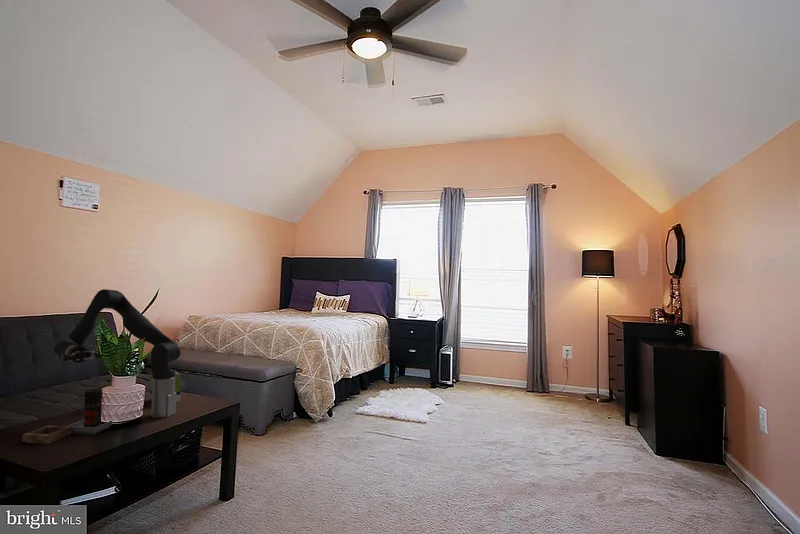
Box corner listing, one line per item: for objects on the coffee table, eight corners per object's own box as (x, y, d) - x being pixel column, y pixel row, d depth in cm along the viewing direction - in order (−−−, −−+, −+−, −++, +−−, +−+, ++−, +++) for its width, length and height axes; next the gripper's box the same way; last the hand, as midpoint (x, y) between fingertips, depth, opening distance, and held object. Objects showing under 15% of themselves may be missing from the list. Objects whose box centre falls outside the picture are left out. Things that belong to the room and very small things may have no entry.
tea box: (148, 400, 219) (149, 371, 219) (168, 396, 226) (169, 368, 227) (159, 405, 209) (160, 375, 210) (180, 401, 217) (181, 372, 217)
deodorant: (80, 427, 175) (82, 390, 175) (96, 423, 180) (97, 387, 180) (88, 429, 172) (89, 392, 172) (103, 425, 177) (105, 389, 178)
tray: (118, 423, 182) (118, 417, 182) (94, 434, 169) (94, 428, 169) (90, 422, 183) (90, 416, 183) (64, 433, 170) (64, 426, 170)
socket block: (71, 434, 169) (71, 426, 169) (47, 443, 158) (47, 435, 158) (47, 432, 170) (47, 425, 170) (22, 442, 159) (22, 434, 159)
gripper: (58, 346, 189) (67, 350, 179) (95, 343, 200) (106, 347, 190) (57, 363, 189) (66, 368, 178) (95, 359, 200) (105, 364, 189)
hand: (87, 357), depth 184 cm, fingers open, 8 cm apart
